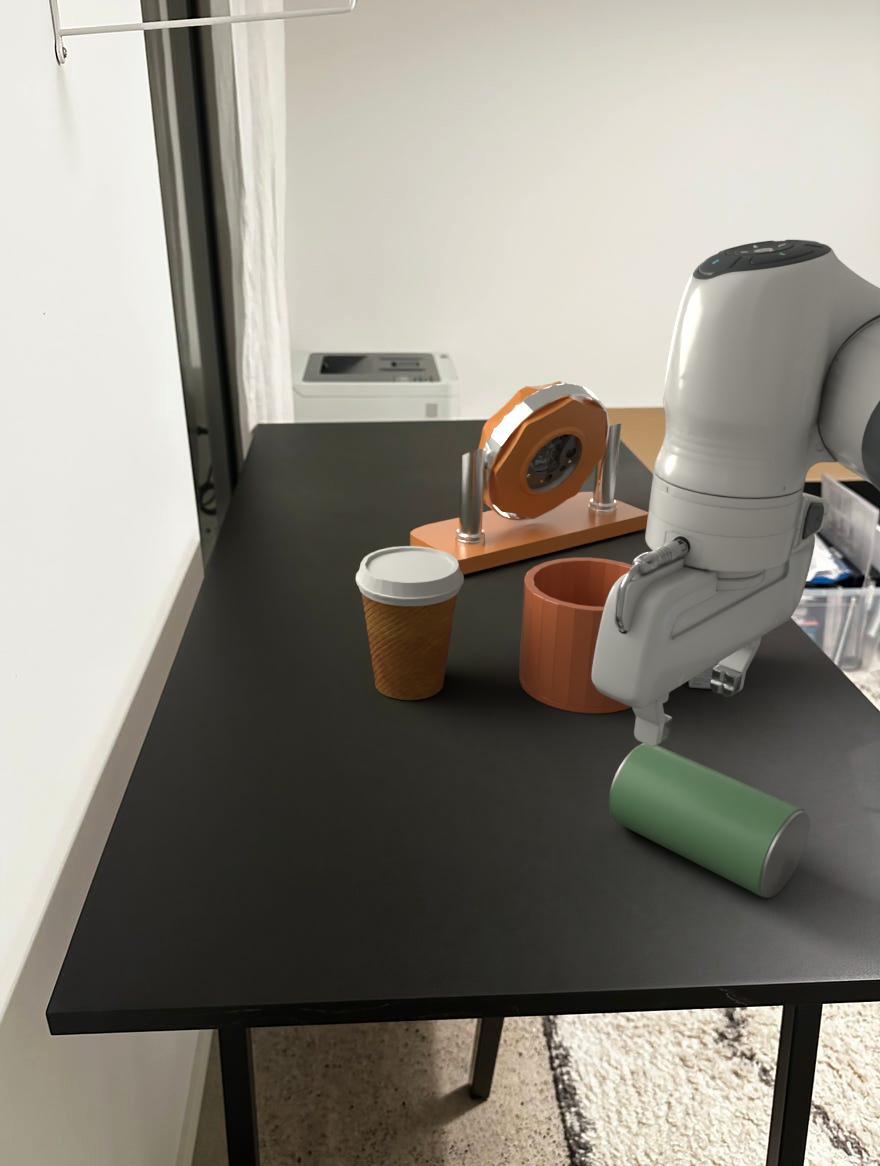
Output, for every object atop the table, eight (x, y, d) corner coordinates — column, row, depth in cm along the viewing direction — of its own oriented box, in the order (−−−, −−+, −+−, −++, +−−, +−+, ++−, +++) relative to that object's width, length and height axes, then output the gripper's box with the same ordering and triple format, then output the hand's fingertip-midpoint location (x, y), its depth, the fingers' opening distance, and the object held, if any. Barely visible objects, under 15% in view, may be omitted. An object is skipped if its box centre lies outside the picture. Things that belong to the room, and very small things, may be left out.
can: (802, 870, 72) (817, 794, 69) (755, 916, 68) (770, 837, 65) (653, 799, 80) (661, 728, 77) (603, 836, 76) (610, 763, 73)
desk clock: (652, 532, 133) (670, 372, 124) (460, 581, 118) (465, 404, 109) (587, 506, 142) (600, 355, 133) (401, 548, 127) (402, 383, 119)
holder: (675, 681, 97) (688, 582, 92) (598, 728, 89) (609, 622, 85) (571, 641, 104) (578, 547, 100) (492, 680, 97) (497, 581, 93)
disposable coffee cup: (337, 681, 97) (333, 561, 92) (414, 651, 102) (415, 536, 97) (402, 721, 90) (403, 594, 85) (482, 687, 96) (487, 566, 91)
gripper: (673, 580, 56) (642, 794, 62) (842, 498, 69) (803, 682, 75) (577, 548, 60) (558, 753, 66) (754, 477, 73) (724, 653, 79)
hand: (689, 714), depth 71 cm, fingers open, 8 cm apart
